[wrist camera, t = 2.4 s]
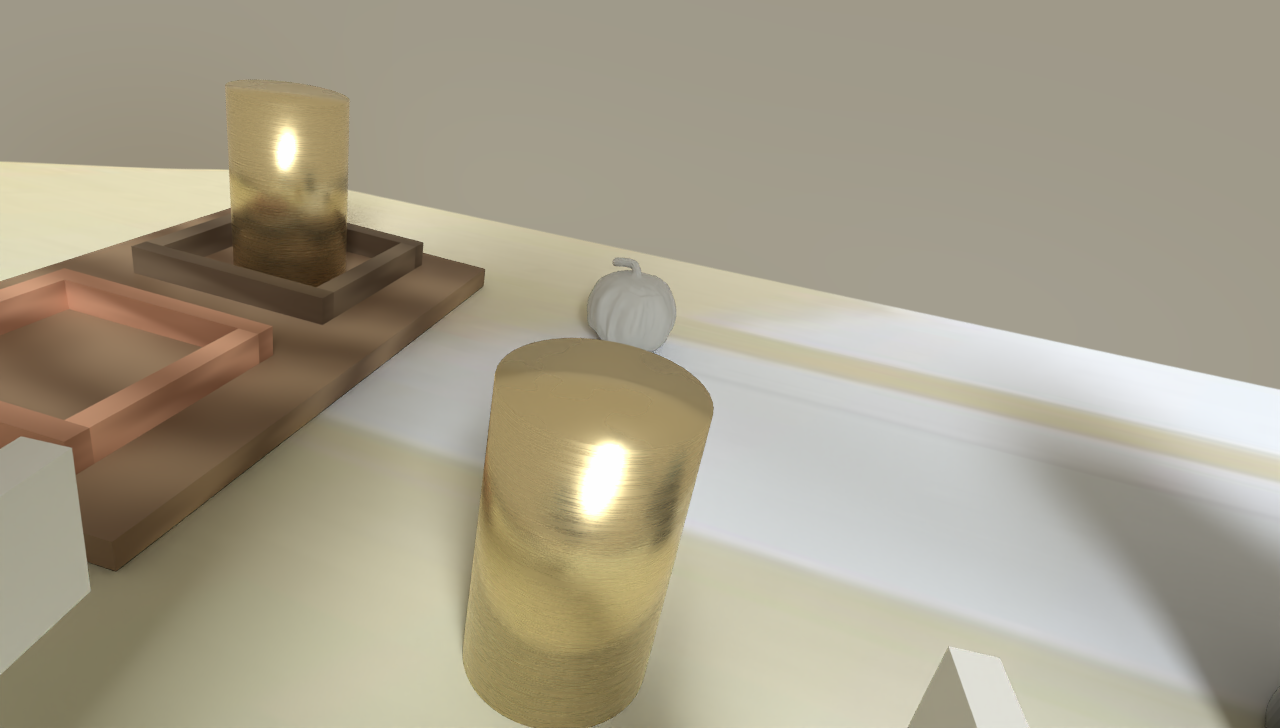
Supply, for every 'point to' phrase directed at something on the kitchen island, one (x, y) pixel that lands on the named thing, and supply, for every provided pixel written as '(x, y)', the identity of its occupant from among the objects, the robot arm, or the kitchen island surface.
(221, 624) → the kitchen island surface
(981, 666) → the robot arm
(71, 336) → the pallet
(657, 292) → the garlic
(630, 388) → the brass billet
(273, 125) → the cylinder
